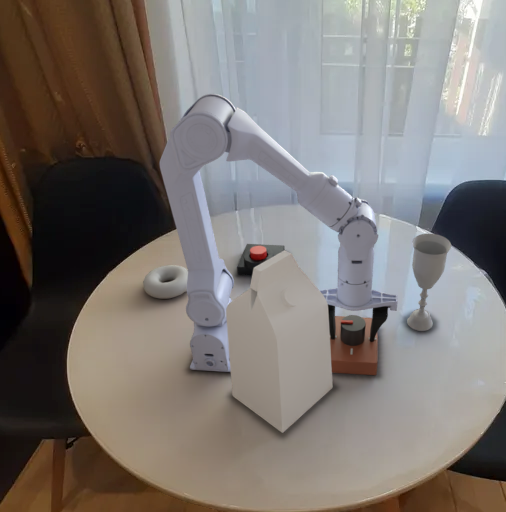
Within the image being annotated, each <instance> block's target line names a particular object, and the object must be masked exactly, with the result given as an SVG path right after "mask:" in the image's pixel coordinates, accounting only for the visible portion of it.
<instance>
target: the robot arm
mask: <svg viewBox="0 0 506 512" xmlns="http://www.w3.org/2000/svg"><path fill="white" fill-rule="evenodd" d="M225 153H228V154H227V157H226V162H238V161H246V160H250V161H253V162H254V163H255V164H256V165H258V166H259V167H260V168H262V169H264V171H266V172H267V173H269V174H270V175H272V176H273V177H275V178H276V179H277V180H279V181H281V182H282V183H283V184H285V185H286V186H288V187H289V188H290V189H292V190H294V191H295V192H296V196H297V197H296V199H297V203H298V205H299V206H301V208H303V209H304V210H306V211H307V212H308V213H310V214H311V215H312V216H314V217H315V218H316V219H318V220H319V221H320V222H322V223H323V224H324V225H325V226H327V227H328V228H329V229H331V230H333V232H336V233H338V234H337V239H338V242H339V247H338V251H337V287H334V288H329V289H328V288H327V289H319V291H320V292H321V293H322V294H323V296H324V297H325V299H326V301H327V304H328V314H329V332H330V336H331V339H334V340H335V333H336V323H335V316H336V308H340V309H343V310H346V311H352V312H355V311H356V312H358V311H364V310H370V309H372V314H371V315H372V316H371V318H372V323H371V329H370V342H374V339H375V336H376V334H377V332H379V330H380V328H381V327H382V325H384V323H386V322H387V320H388V316H389V310H390V311H392V312H393V311H395V312H396V311H397V309H398V295H397V294H391V293H386V292H383V291H379V290H375V289H373V277H374V261H375V250H374V249H375V248H374V247H375V245H376V243H377V241H378V239H379V234H378V227H377V219H376V215H375V212H374V209H373V207H372V206H371V205H370V204H369V201H367V200H366V199H363V198H359V197H358V196H356V197H353V196H352V195H351V194H350V193H348V191H346V190H345V189H344V188H342V186H340V185H339V179H338V178H337V177H336V176H335V175H334V174H330V175H329V176H328V175H327V174H326V173H324V172H323V171H309V170H308V169H307V168H305V166H303V164H302V163H301V162H299V161H298V160H297V159H296V158H295V157H294V156H292V155H291V154H290V153H289V152H288V151H287V150H286V149H284V147H282V146H281V145H280V144H279V143H278V142H277V141H276V140H275V139H274V138H273V137H271V136H270V135H269V134H268V133H267V132H266V131H265V130H264V129H263V128H262V127H261V126H260V125H258V123H256V122H255V120H253V118H251V116H250V115H249V114H248V113H247V112H246V111H245V110H243V109H241V108H240V107H235V105H234V104H233V103H232V102H231V100H229V98H227V97H225V96H224V95H221V94H218V93H206V94H204V95H202V96H200V97H199V98H198V99H197V100H196V101H195V102H194V103H193V104H192V105H190V107H189V108H187V110H186V111H185V112H184V114H183V115H182V117H181V118H180V120H179V121H178V122H177V123H176V124H175V125H174V126H173V127H172V128H171V129H170V132H169V138H168V139H167V141H166V144H165V147H164V150H163V152H162V154H161V157H160V159H159V169H160V173H161V176H162V180H163V185H164V189H165V191H166V195H167V199H168V203H169V206H170V210H171V214H172V217H173V221H174V224H175V228H176V231H177V235H178V239H179V244H180V247H181V250H182V254H183V258H184V261H185V265H186V269H187V270H188V278H187V291H186V295H187V302H186V305H185V313H186V315H187V317H188V319H190V321H191V322H193V333H192V335H191V338H190V341H189V346H190V347H189V348H190V352H191V355H192V361H191V363H190V365H189V369H190V370H192V371H210V372H223V373H231V370H230V358H229V345H228V332H227V319H226V308H227V306H228V304H229V303H230V302H231V301H233V300H232V298H231V293H232V290H233V288H234V286H235V280H234V277H233V275H232V273H231V272H230V271H229V270H228V268H227V266H226V263H225V260H224V259H223V258H221V257H220V255H219V251H218V247H217V243H216V238H215V233H214V227H213V225H212V220H211V215H210V211H209V205H208V202H207V197H206V193H205V189H204V183H203V179H202V175H201V170H202V169H203V167H204V166H206V165H207V164H210V163H212V162H215V161H216V160H218V159H219V158H221V157H222V156H223V155H224V154H225Z"/></svg>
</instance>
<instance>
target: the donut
mask: <svg viewBox="0 0 506 512" xmlns="http://www.w3.org/2000/svg"><path fill="white" fill-rule="evenodd" d="M187 278H188V269H187V267H184V266H181V265H176V264H167V265H160V266H158V267H155V268H154V269H152V270H150V271H149V272H148V273H147V274H146V275H145V276H144V278H143V280H142V285H143V290H144V291H145V293H146V294H147V295H148V296H150V297H152V298H155V299H159V300H165V299H171V298H176V297H179V296H181V295H183V294H184V293H187Z"/></svg>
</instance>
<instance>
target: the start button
mask: <svg viewBox="0 0 506 512" xmlns="http://www.w3.org/2000/svg"><path fill="white" fill-rule="evenodd" d="M250 256H251V259H253V260H262V259H265V258H266V257H267V251H266V248H265V247H264V246H254V247H252V248H251V249H250Z"/></svg>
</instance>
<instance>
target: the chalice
mask: <svg viewBox="0 0 506 512" xmlns="http://www.w3.org/2000/svg"><path fill="white" fill-rule="evenodd" d="M411 242H412V243H411V244H412V247H413V254H412V255H413V256H412V261H411V267H412V272H413V275H414V278H415V281H416V283H417V285H418V287H419V288H420V289H422V290H421V292H420V293H419V296H420V300H418V302H417V303H418V305H419V308H416V309H415V310H413V311H412V312H411V313H410V315H409V316H408V317H407V320H406V321H407V322H406V324H407V326H408V327H410V328H411V329H412V330H415V331H419V332H424V331H429V330H430V329H432V328H433V325H434V324H433V320H432V317H431V314H430V312H429V311H428V310H426V309H425V308H426V306H427V305H428V301H427V298H428V297H429V294H428V290H431V289H432V288H433V287H434V286H435V285H436V283H437V282H438V281H439V280H440V279H441V277H442V275H443V273H444V271H445V268H446V262H447V257H448V253H449V252H450V250H451V249H452V244H451V241H450V240H449V239H448V238H447V237H445V236H442V235H440V234H437V233H422V234H418V235H416V236H415V237H414V238H413V239H412V241H411Z"/></svg>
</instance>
